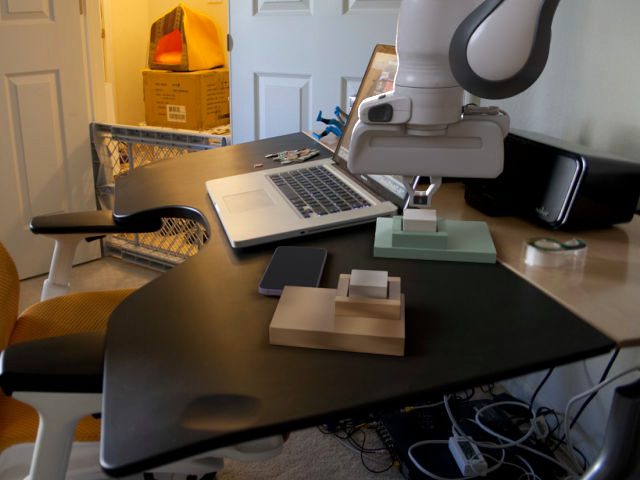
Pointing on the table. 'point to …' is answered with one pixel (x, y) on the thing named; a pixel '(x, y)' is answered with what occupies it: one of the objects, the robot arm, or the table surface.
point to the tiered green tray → (435, 241)
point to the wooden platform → (340, 319)
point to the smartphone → (293, 269)
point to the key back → (419, 220)
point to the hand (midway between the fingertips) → (419, 205)
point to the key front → (368, 284)
